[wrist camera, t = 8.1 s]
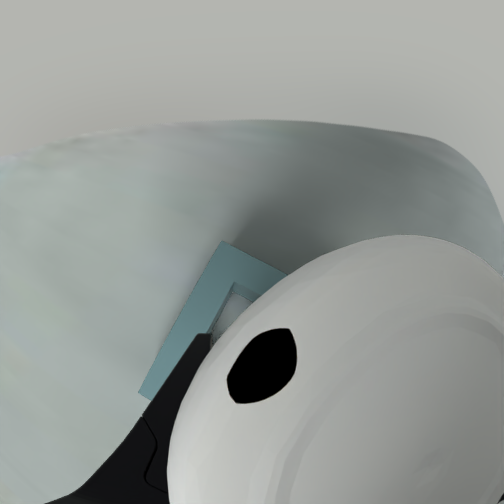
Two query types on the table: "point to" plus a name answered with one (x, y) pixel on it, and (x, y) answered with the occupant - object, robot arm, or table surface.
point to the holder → (210, 305)
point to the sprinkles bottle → (353, 386)
